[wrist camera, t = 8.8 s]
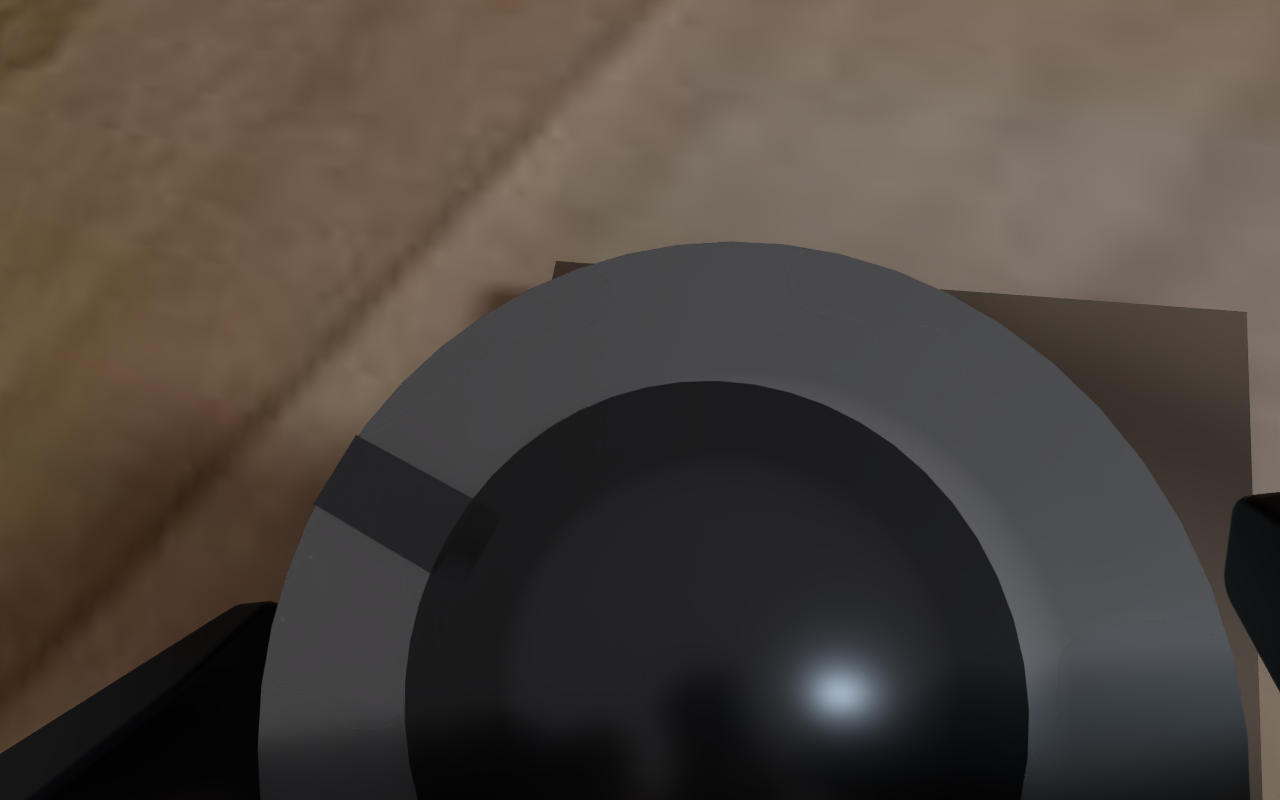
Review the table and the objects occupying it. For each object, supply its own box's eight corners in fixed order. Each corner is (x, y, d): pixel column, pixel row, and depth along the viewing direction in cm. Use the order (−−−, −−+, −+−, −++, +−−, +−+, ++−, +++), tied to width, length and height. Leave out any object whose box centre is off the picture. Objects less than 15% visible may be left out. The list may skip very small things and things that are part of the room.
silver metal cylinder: (863, 952, 14) (1001, 1701, 4) (543, 746, 16) (75, 869, 6) (1010, 600, 15) (1413, 445, 5) (696, 451, 17) (531, 130, 7)
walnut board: (1217, 1449, 12) (1292, 1593, 10) (394, 1146, 16) (335, 1213, 14) (1200, 350, 18) (1248, 310, 16) (579, 298, 21) (554, 259, 19)
